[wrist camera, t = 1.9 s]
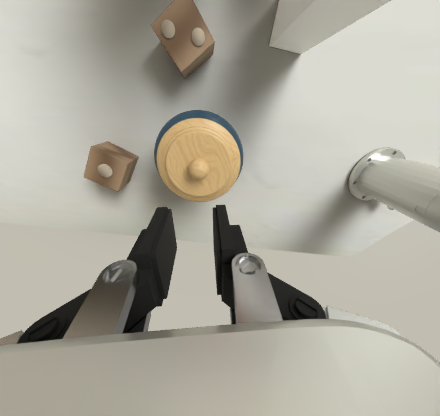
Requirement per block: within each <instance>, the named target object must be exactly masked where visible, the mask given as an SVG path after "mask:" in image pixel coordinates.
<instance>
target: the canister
mask: <svg viewBox="0 0 440 416" xmlns="http://www.w3.org/2000/svg"><path fill="white" fill-rule="evenodd" d="M154 156H155V163H156V167H157V170H158V172H159V174H160V176H161V178H162V180H163V182H164V183H165V184H166V186H167V187H168V188H169V189H170V190H171V191H172V192H173V193H175V194H176V195H178V196H180V197H182V198H184V199H187V200H190V201H196V202H204V201H210V200H214V199H216V198H218V197H220V196H222V195H223V194H225V193H226V192H227V191H228V190H229V189H230V188H231V187H232V186H233V184H234V183H235V182H236V180H237V179H238V177H239V175H240V172H241V169H242V165H243V148H242V144H241V141H240V139H239V136H238V134H237V133H236V131H235V130H234V128H233V127H232V126H231V125H230V124H229V123H228V122H227V121H226V120H225V119H223V118H222V117H220V116H218V115H216V114H214V113H211V112H208V111H202V110H192V111H187V112H183V113H181V114H178V115H177V116H175V117H173V118H172V119H170V120H169V121H168V122H167V123H166V124H165V125H164V127H163V128H162V129H161V131H160V133H159V135H158V137H157V140H156V143H155V150H154Z"/></svg>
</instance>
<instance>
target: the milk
mask: <svg viewBox="0 0 440 416" xmlns="http://www.w3.org/2000/svg"><path fill="white" fill-rule="evenodd" d="M389 1H391V0H279V3H278V7H277V12H276V16H275V21H274V26H273V30H272V35H271V39H270V44H269V46H270V47H275V48H279V49H283V50H287V51H291V52H295V53H299V54H302V53H304V52H306V51H307V50H309V49H311V48H312V47H314V46H316V45H317V44H319V43H321V42H322V41H324V40H326V39H327V38H329V37H331V36H332V35H334V34H336V33H337V32H339V31H341V30H342V29H344V28H346V27H347V26H349V25H351V24H352V23H354V22H356V21H357V20H359V19H361V18H362V17H364V16H366V15H367V14H369V13H371V12H372V11H374V10H376V9H377V8H379V7H381V6H382V5H384V4H386V3H387V2H389Z"/></svg>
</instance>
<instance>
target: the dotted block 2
mask: <svg viewBox="0 0 440 416" xmlns="http://www.w3.org/2000/svg"><path fill="white" fill-rule="evenodd" d="M151 26H152V28H153V30H154V31H155V33H156V35H157V36H158V38H159V39H160V41H161V43H162V44H163V46H164V47H165V49H166V50H167V52H168V53H169V55H170V56H171V58H172V59H173V61H174V63H175V64H176V66H177V67H178V69H179V70H180V72H181V73H182V75H183V76H184V78H185V79H186V78H187V77H188V76H189V75H190V74H191V73H192V72H193V71H195V70H196V69H197V68H198V67H199V66H200V65H201V64H202V63H203V62H205V61H206V60H207V59H208V58H209V57H210V56H211V55H212V54H213V50H214V43H215V41H214V39H213V37H212V36H211V34H210V32H209V30H208V28H207V26H206V24H205V22H204V21H203V19H202V17H201V15H200V13H199V11H198V9H197V7H196V6H195V4H194V2H193V0H174V1H173V2H172V3H171V4H170V5H169V6H168V8H167V9H166V10H165V11H164V12H163V13H162V14H161V15H160V16H159V17H158V18H157V19H156V20H155V21H154V22H153V23H152V24H151Z"/></svg>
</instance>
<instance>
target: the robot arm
mask: <svg viewBox="0 0 440 416" xmlns="http://www.w3.org/2000/svg"><path fill="white" fill-rule="evenodd" d="M348 186H349V190H350V192H351V194H352V195H353V196H355V197H356V198H358V199H361V200H373V199H375V200H377V201H379V202H381V203H383V204H385V205H387V207H388V209H390V210H394V209H395V210H397V211H399V212H401V213H403V214H405V215H407V216H409V217H411V218H413V219H415V220H417V221H418V222H421V223H423V224H424V225H426V226H428V227H430V228H432V229H434V230H436V231H439V232H440V167H436V166H432V165H427V164H423V163H419V162H414V161H410V160H406V159H405V156H404V154H403V153H402V152H401V151H400V150H397V149H394V148H381V149H377V150H375V151H373V152H371V153H369V154H367V155H366V156H365V157H363V158H362V159H361V160H360V161H359V162H358V163H357V165H356V166H355V167H354V169H353V171H352V173H351V175H350V178H349V185H348ZM213 236H214V256H215V269H216V284H217V294H218V295H221V297H222V301H223V302H224V303H225V304H227V305H228V306H229V307H230V315H231V325H219V326H207V327H196V328H184V329H172V330H160V331H148V327H149V322H150V317H151V310H153V309H154V308H155V307H156V306H162V302H163V299H166V298H167V295H168V290H169V285H170V280H171V275H172V270H173V265H174V260H175V255H176V250H177V244H176V237H175V230H174V224H173V217H172V211H171V209H168V208H167V207H158V208H157V209H156V211H155V213H154V215H153V217H152V219H151V221H150V223H149V225H148V227H147V229H143V230H142V231H141V233H140V235H139V237H138V239H137V241H136V243H135V244H134V247H133V248H132V250H131V252H130V254H129V256H128V258H127V260H121V261H117V262H114V263H112V264H110V265H109V266H107V267H106V268H105V269H104V270H103V271H102V272H101V273H100V275H99V276H98V278H97V280H96V282H95V283H94V285H93V287H92V289H90V290H88V291H87V292H85V293H83V294H81V295H80V296H78V297H76V298H75V299H73V300H71V301H70V302H68V303H66V304H64V305H63V306H61V307H59V308H58V309H56V310H54V311H53V312H51V313H49V314H48V315H46V316H44V317H42V318H41V319H39V320H38V321H36V322H35V323H34V324H33V325H32V326H30V327H29V328H28V329H27V330H26V331H25V333H24V332H23V331H22V330H21V331H18V332H16V333H14V334H11V335H8V336H6V337H3V338H1V339H0V416H440V362H438V361H437V360H436V359H435V358H434V357H432V356H431V355H430V354H429V353H427V352H426V351H425V350H423V349H422V348H421V347H419V346H418V345H416V344H415V343H413V342H411V341H409V340H408V339H406V338H404V337H403V336H402V335H401V334H400V333H399V332H398V331H396V330H395V329H394V328H392V327H391V326H389V325H387V324H385V323H382V322H380V321H376V320H373V319H370V318H366V317H363V316H360V315H357V314H353V313H350V312H347V311H343V310H340V309H337V308H334V307H330V306H327V307H326V308H324V307H321V305H320V304H319V303H318V302H317V301H316V300H314V299H313V298H312V297H310V296H308V295H306V294H304V293H303V292H301V291H299V290H297V289H296V288H294V287H292V286H290V285H289V284H287V283H285V282H283V281H282V280H280V279H278V278H276V277H274V276H273V275H271V274H269V273H267V270H266V267H265V264H264V262H263V260H262V259H261V258H260V257H258V256H256V255H254V254H251V253H248V251H247V248H246V244H245V241H244V238H243V235H242V232H241V229H240V226H239V225H230V224H229V220H228V215H227V211H226V207H225V205H216V208H213ZM147 331H148V332H147Z"/></svg>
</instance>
